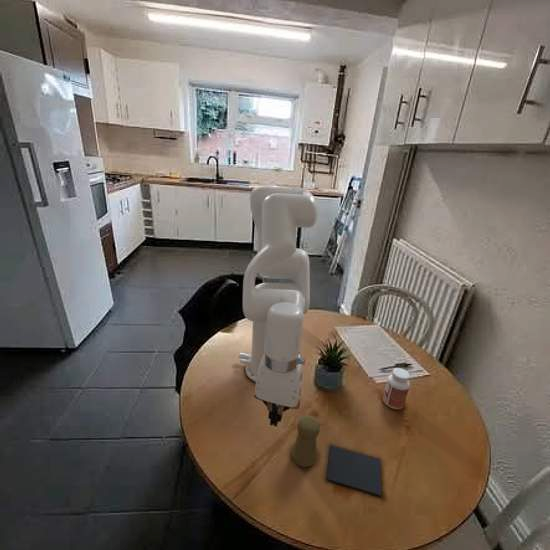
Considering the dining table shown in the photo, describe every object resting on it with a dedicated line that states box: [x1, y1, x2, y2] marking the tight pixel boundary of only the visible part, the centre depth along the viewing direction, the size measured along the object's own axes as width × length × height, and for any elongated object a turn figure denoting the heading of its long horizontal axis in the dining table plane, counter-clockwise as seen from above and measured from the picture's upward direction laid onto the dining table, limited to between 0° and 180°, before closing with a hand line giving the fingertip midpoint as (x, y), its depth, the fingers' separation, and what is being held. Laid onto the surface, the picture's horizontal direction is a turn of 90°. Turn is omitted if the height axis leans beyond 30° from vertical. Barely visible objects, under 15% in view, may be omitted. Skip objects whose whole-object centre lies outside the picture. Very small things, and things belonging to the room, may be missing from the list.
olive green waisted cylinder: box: [291, 415, 321, 468], centre depth 74 cm, size 6×6×11 cm
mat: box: [326, 445, 382, 497], centre depth 73 cm, size 12×9×1 cm
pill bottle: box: [382, 367, 411, 410], centre depth 92 cm, size 6×6×11 cm
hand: (274, 421), depth 74 cm, fingers closed
